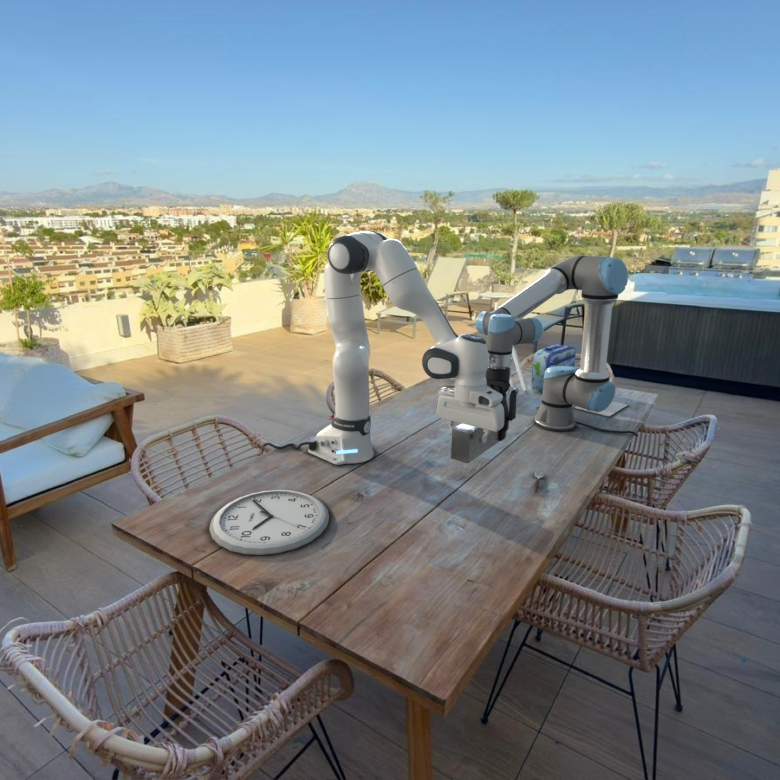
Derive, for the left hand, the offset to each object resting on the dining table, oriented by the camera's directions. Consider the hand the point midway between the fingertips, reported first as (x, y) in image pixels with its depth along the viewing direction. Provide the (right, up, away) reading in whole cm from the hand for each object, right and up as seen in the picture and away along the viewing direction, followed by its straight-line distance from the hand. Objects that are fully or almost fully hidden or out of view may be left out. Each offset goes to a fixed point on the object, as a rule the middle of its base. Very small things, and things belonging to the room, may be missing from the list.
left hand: (468, 438), depth 150 cm
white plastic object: (+19, +13, +93) cm, 96 cm away
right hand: (+10, -1, +15) cm, 18 cm away
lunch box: (+55, +14, +100) cm, 115 cm away
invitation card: (+69, +7, +76) cm, 103 cm away
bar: (+5, -3, +8) cm, 10 cm away
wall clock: (-53, -20, -16) cm, 59 cm away
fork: (+22, -14, +7) cm, 27 cm away
